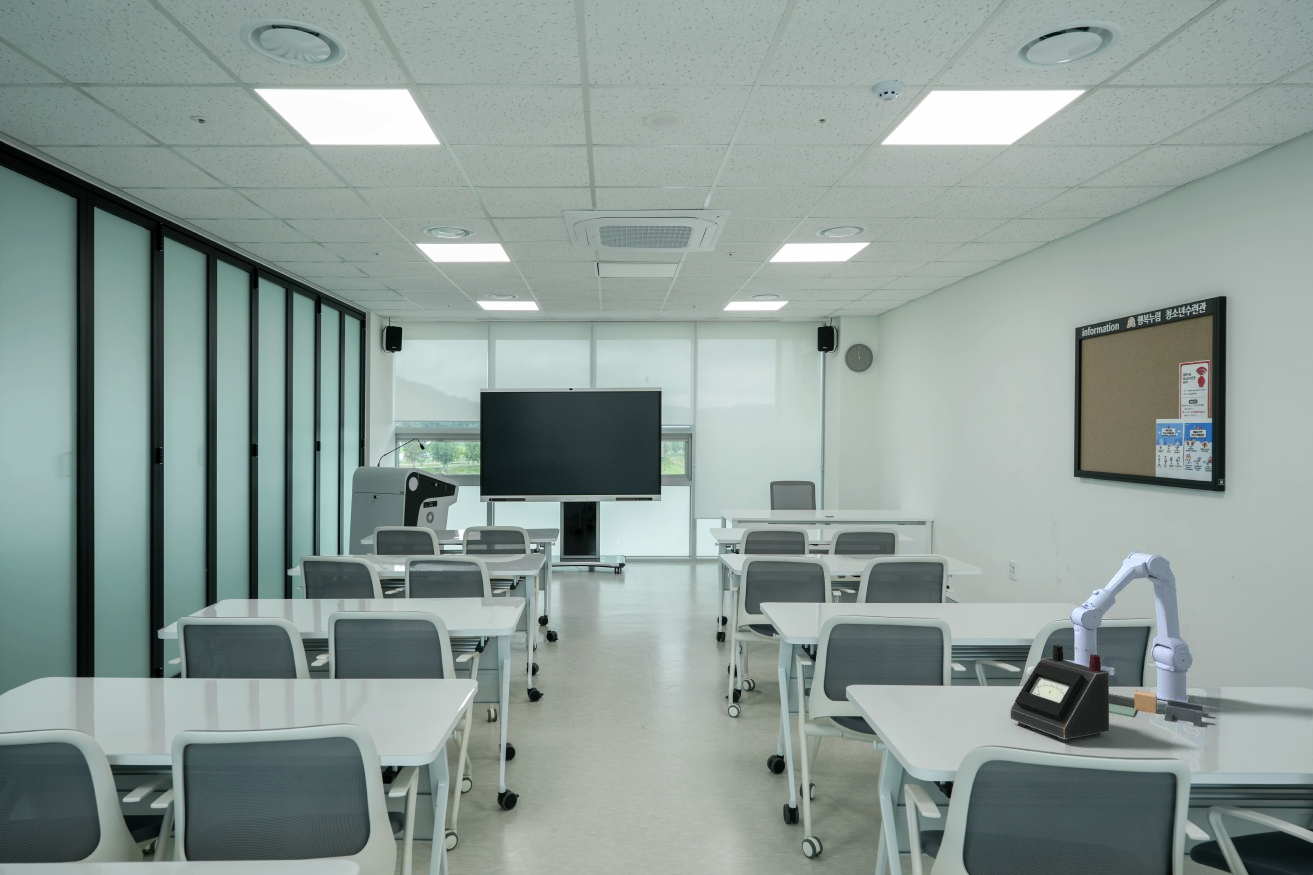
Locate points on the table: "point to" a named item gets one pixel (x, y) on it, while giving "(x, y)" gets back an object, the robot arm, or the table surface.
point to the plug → (1136, 701)
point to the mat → (1122, 710)
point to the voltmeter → (1064, 698)
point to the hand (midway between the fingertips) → (1085, 695)
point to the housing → (1184, 712)
